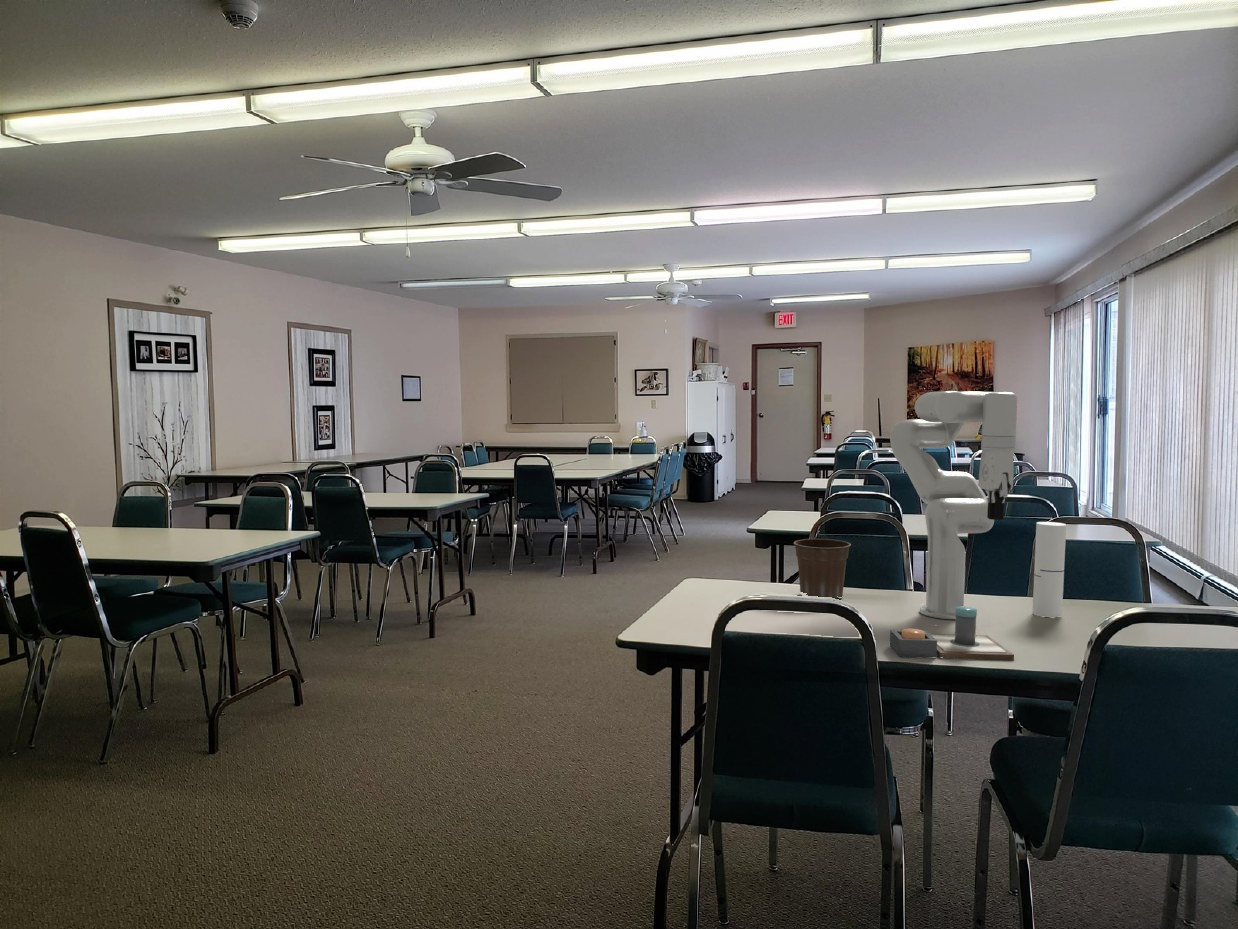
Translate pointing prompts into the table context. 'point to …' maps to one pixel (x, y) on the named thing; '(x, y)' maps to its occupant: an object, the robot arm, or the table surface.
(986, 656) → the board
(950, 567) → the robot arm
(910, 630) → the button
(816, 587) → the plant pot
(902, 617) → the table surface
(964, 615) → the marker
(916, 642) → the button housing
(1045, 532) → the cylindrical container
